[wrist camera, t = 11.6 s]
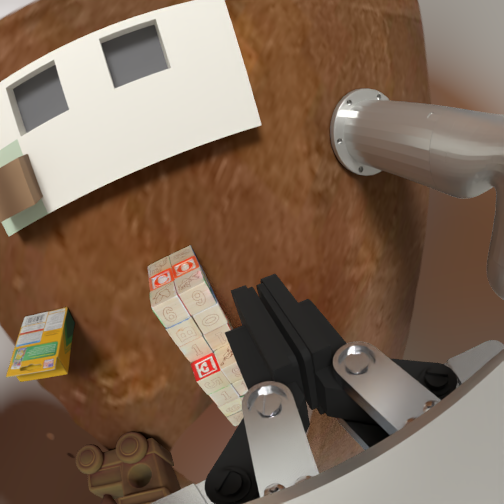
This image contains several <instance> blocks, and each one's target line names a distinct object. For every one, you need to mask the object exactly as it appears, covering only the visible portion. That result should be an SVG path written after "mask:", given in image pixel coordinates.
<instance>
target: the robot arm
mask: <svg viewBox="0 0 504 504" xmlns="http://www.w3.org/2000/svg"><path fill="white" fill-rule="evenodd" d="M330 137H331V144H332V147H333V150H334V153H335V155H336V157H337V159H338V160H339V161H340V163H341V164H342V165H343V166H344V167H345V168H346V169H348V170H349V171H351V172H353V173H356V174H358V175H364V176H369V175H374V174H377V173H379V172H381V171H385V172H388V173H391V174H394V175H397V176H399V177H402V178H405V179H408V180H411V181H414V182H416V183H419V184H422V185H424V186H427V187H430V188H432V189H435V190H438V191H440V192H443V193H446V194H448V195H451V196H453V197H457V198H472V197H475V196H478V195H480V194H482V193H484V192H486V191H487V190H489V189H490V188H492V187H495V189H496V194H497V195H496V211H495V218H494V225H493V231H492V237H491V242H490V247H489V253H488V259H487V277H488V281H489V283H490V285H491V287H492V289H493V290H494V292H495V293H496V294H497V295H498V296H499V297H501V298H502V299H503V300H504V115H499V114H491V113H484V112H478V111H472V110H466V109H459V108H452V107H446V106H438V105H431V104H422V103H412V102H402V101H390V100H389V99H388V98H387V97H386V96H385V95H384V94H382V93H381V92H379V91H376V90H373V89H357V90H354V91H351V92H349V93H348V94H347V95H345V96H344V97H343V98H342V99H341V100H340V102H339V103H338V104H337V106H336V108H335V110H334V113H333V116H332V119H331V125H330ZM257 290H258V294H259V296H258V295H257V293H256V292H255V290H254V288H253V287H251V288H247V287H246V285H245V286H242V287H239V288H237V289H234V290H231V293H232V296H233V299H234V302H235V305H236V308H237V311H238V314H239V317H240V320H241V323H242V325H243V326H240V327H238V328H235V329H232V330H230V331H227V332H225V335H226V337H227V340H228V342H229V345H230V347H231V350H232V352H233V355H234V357H235V360H236V362H237V365H238V367H239V369H240V372H241V374H242V377H243V379H244V381H245V384H246V386H247V389H248V391H247V392H246V394H245V395H244V397H243V400H242V412H243V419H242V420H241V422H240V424H239V426H238V427H237V429H236V431H235V432H234V434H233V436H232V438H231V439H230V441H229V442H228V444H227V445H226V447H225V449H224V450H223V452H222V454H221V455H220V457H219V458H218V460H217V462H216V463H215V465H214V466H213V468H212V470H211V471H210V473H209V474H208V476H207V478H206V480H204V481H202V482H200V483H198V484H197V485H195V484H194V483H193V484H191V485H189V486H187V487H185V488H183V489H181V490H179V491H177V492H175V493H172V494H170V495H168V496H166V497H164V498H161V499H159V500H157V501H155V502H152V503H150V504H504V345H503V344H502V343H500V342H498V341H494V340H490V341H487V342H484V343H482V344H480V345H478V346H476V347H474V348H472V349H470V350H468V351H466V352H464V353H462V354H459V355H457V356H455V357H453V358H451V359H448V360H447V363H445V364H440V363H431V362H419V361H409V360H399V359H390V358H388V357H387V356H386V355H384V354H383V353H382V352H381V351H379V350H378V349H377V348H376V347H374V346H373V345H371V344H369V343H365V342H352V343H348V344H347V343H346V342H345V341H344V340H343V339H342V337H341V336H340V335H339V334H338V333H337V331H336V330H335V329H334V328H333V327H332V325H331V324H330V323H329V322H328V321H327V319H326V318H325V317H324V316H323V315H322V313H321V312H320V311H319V310H318V309H317V307H316V306H315V305H314V304H313V303H312V302H311V301H310V300H309V299H306V300H304V301H302V302H299V303H298V302H297V301H296V300H295V298H294V297H293V296H292V295H291V293H290V292H289V291H288V289H287V288H286V287H285V286H284V284H283V283H282V282H281V280H280V279H279V278H278V276H277V275H276V274H273V275H271V276H268V277H265V278H263V279H261V284H258V285H257ZM259 297H260V298H259ZM306 402H307V403H308V405H309V407H310V408H311V409H312V410H313V409H315V408H317V410H318V411H319V413H320V414H321V415H322V414H324V413H326V414H327V416H330V417H335V418H336V419H337V420H338V422H339V423H340V424H341V425H342V426H343V427H344V428H345V430H346V431H347V432H348V433H349V434H350V435H351V436H352V437H353V438H354V439H355V440H356V441H357V442H358V443H359V444H360V446H361V447H362V448H363V449H364V450H365V451H363V452H361V453H360V454H358V455H356V456H354V457H352V458H350V459H348V460H346V461H345V462H343V463H341V464H339V465H337V466H335V467H333V468H331V469H328V470H326V471H324V472H322V473H320V474H319V472H318V469H317V466H316V463H315V460H314V457H313V455H312V452H311V449H310V446H309V443H308V440H307V437H306V432H307V429H308V427H309V425H310V423H309V418H308V410H307V405H306Z"/></svg>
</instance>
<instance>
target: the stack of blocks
mask: <svg viewBox="0 0 504 504" xmlns="http://www.w3.org/2000/svg"><path fill="white" fill-rule="evenodd" d="M148 275H149V286H150V301H151V308H152V310H153V311H154V313H155V314H156V316H157V317H158V319H159V320H160V322H161V323H162V324H163V326H164V327H165V328H166V331H167V332H168V333H169V335H170V336H171V338H172V339H173V340H174V342H175V343H176V344H177V346H178V347H179V349H180V350H181V352H182V353H183V354H184V355H185V357H186V358H187V359H188V360H189V361H190V362H191V367H192V369H193V373H194V376H195V379H196V382H197V383H198V384H199V385H200V386H201V388H202V389H203V390H204V391H205V392H206V394H208V395H209V396H210V397H211V399H212V400H213V401H214V402H215V403H216V404H217V406H218V408H219V409H220V410H221V411H222V412H223V414H224V415H225V416H226V417H227V419H228V420H229V421H230V422H231V423H232V424H233V425H234V426H237V425H239V424H240V422H241V420H242V419H243V412H242V400H243V397H244V395H245V394H246V392H247V391H248V389H247V386H246V384H245V381H244V379H243V377H242V374H241V372H240V369H239V367H238V365H237V362H236V360H235V357H234V355H233V352H232V350H231V347H230V345H229V342H228V340H227V337H226V335H225V332H227V331H230V330H232V329H233V328H232V326H231V324H230V322H229V320H228V318H227V316H226V315H225V314H224V312H223V310H222V308H221V306H220V304H219V302H218V300H217V298H216V296H215V294H214V292H213V289H212V287H211V285H210V283H209V281H208V279H207V277H206V275H205V273H204V271H203V269H202V267H201V265H200V264H199V261H198V259H197V257H196V255H195V253H194V251H193V249H192V247H191V245H190V246H188V247H186V248H183V249H181V250H179V251H177V252H175V253H173V254H171V255H169V256H167V257H165V258H163V259H160V260H159V261H157V262H155V263H153V264H151V265H149V266H148Z"/></svg>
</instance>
